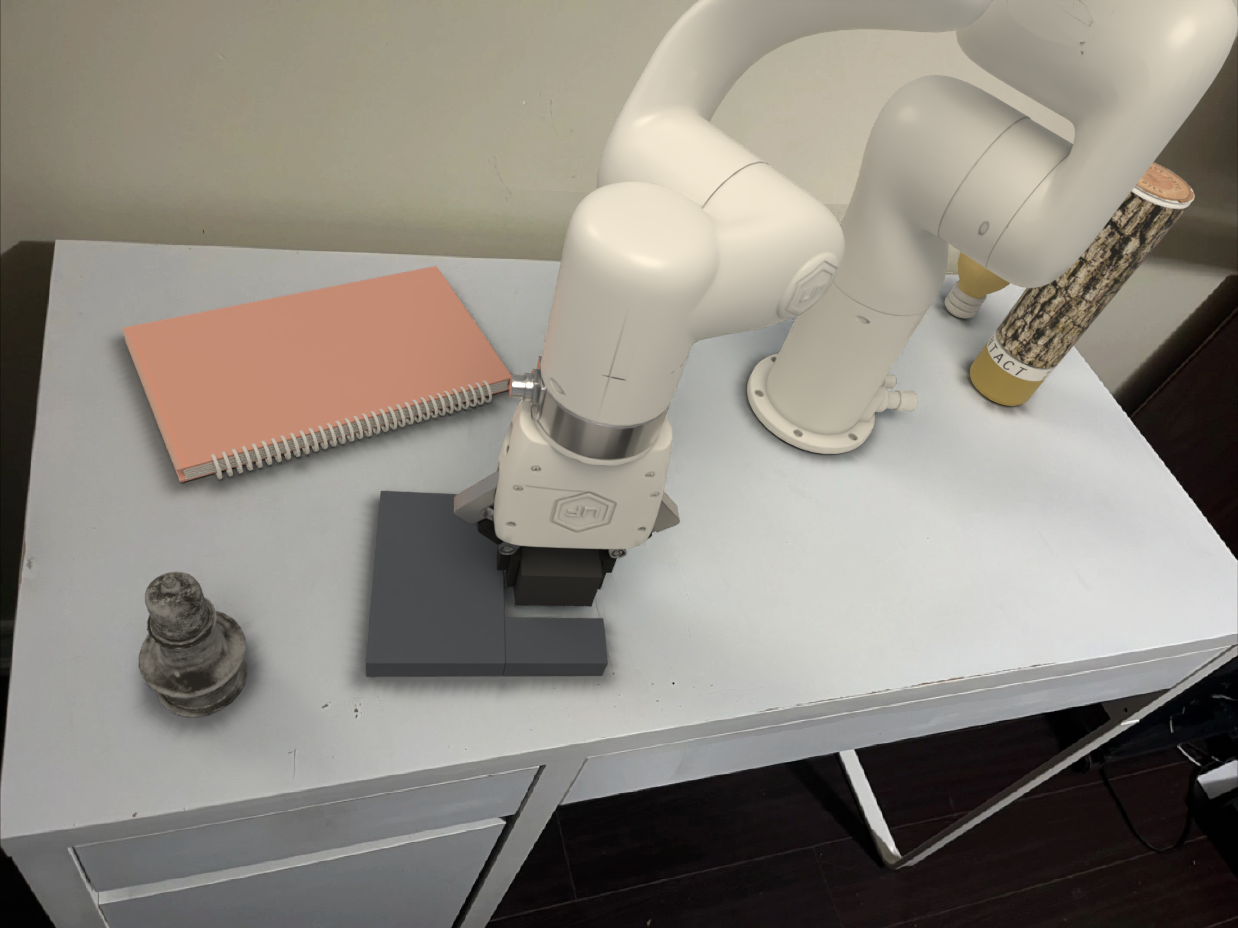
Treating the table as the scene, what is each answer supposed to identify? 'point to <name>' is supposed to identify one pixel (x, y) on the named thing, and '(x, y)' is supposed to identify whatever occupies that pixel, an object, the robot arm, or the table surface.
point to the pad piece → (557, 577)
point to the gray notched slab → (459, 604)
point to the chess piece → (190, 648)
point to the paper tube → (1077, 292)
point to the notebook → (310, 369)
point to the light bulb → (971, 288)
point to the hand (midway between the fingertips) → (552, 570)
